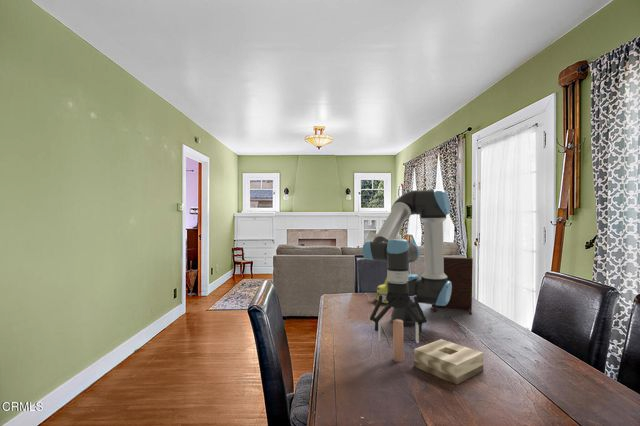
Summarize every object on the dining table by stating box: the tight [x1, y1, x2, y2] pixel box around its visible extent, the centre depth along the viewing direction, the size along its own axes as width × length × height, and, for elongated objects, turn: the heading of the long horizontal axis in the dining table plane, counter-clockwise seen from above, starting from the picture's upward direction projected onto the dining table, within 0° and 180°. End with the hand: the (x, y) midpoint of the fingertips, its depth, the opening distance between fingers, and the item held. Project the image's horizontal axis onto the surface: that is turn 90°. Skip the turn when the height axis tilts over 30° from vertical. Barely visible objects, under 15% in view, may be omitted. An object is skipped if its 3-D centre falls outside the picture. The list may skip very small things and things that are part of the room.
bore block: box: [413, 338, 484, 385], centre depth 115 cm, size 16×16×6 cm
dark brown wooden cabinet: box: [431, 256, 474, 316], centre depth 187 cm, size 21×11×30 cm, turn 71°
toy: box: [375, 277, 389, 304], centre depth 208 cm, size 16×15×15 cm
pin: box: [392, 319, 404, 363], centre depth 122 cm, size 4×4×14 cm
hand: (398, 340), depth 122 cm, fingers open, 13 cm apart
